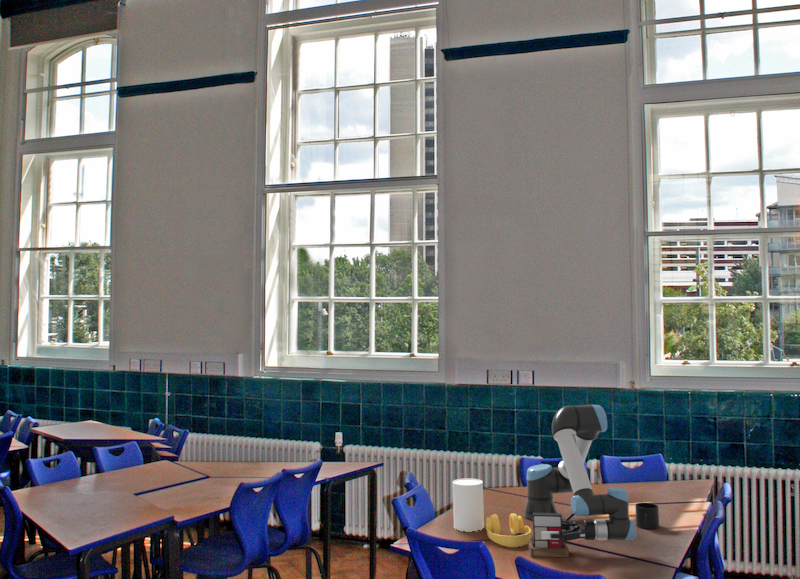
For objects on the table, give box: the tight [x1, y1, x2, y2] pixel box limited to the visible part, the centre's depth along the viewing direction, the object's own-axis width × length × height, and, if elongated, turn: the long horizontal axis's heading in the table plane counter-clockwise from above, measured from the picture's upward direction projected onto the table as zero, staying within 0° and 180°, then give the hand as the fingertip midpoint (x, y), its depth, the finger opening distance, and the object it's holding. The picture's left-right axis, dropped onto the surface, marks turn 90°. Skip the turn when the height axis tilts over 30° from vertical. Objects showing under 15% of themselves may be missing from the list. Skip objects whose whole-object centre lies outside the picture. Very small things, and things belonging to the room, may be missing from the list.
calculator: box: [532, 512, 564, 548], centre depth 254 cm, size 11×4×15 cm, turn 80°
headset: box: [485, 512, 532, 548], centre depth 272 cm, size 18×21×9 cm
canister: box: [452, 477, 485, 533], centre depth 290 cm, size 14×14×20 cm
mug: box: [634, 502, 660, 530], centre depth 284 cm, size 9×12×9 cm
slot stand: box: [527, 541, 570, 558], centre depth 253 cm, size 8×14×3 cm, turn 86°
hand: (539, 529), depth 254 cm, fingers open, 13 cm apart
